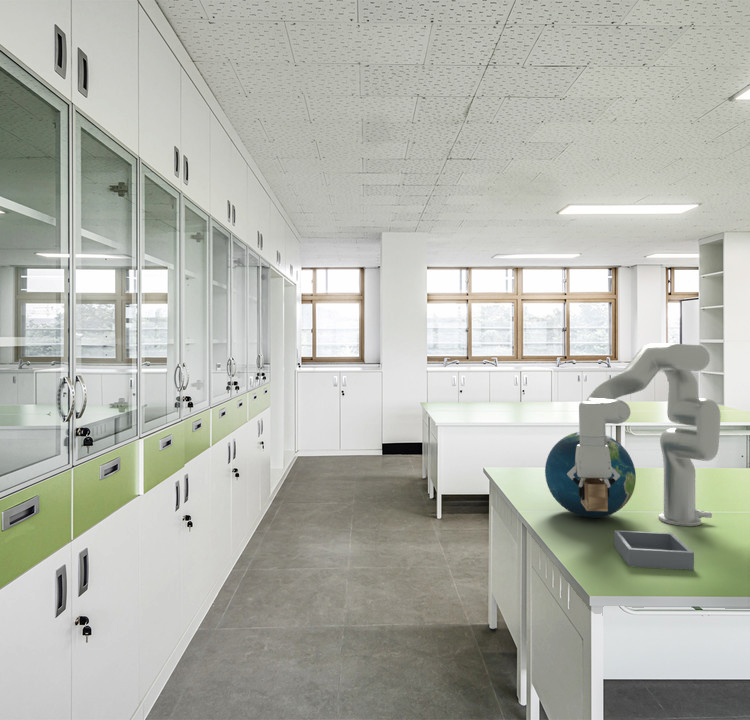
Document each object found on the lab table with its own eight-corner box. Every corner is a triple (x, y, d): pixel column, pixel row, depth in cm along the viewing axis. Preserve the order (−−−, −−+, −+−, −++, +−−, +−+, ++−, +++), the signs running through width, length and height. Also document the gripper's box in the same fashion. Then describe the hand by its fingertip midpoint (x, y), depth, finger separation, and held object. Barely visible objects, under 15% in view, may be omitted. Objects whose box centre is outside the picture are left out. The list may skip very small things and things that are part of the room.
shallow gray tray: (672, 550, 158) (672, 533, 158) (693, 571, 142) (693, 552, 142) (614, 547, 161) (613, 530, 160) (629, 567, 145) (629, 549, 145)
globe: (579, 533, 172) (579, 439, 172) (529, 508, 201) (528, 427, 200) (656, 525, 180) (655, 435, 180) (597, 502, 208) (596, 424, 208)
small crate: (601, 502, 170) (600, 477, 170) (607, 511, 162) (607, 484, 161) (581, 502, 172) (580, 477, 171) (586, 510, 163) (586, 484, 163)
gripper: (619, 439, 168) (620, 496, 169) (561, 439, 171) (562, 495, 172) (625, 443, 161) (627, 503, 161) (565, 443, 164) (566, 502, 164)
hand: (593, 498), depth 167 cm, fingers closed on small crate, 6 cm apart
